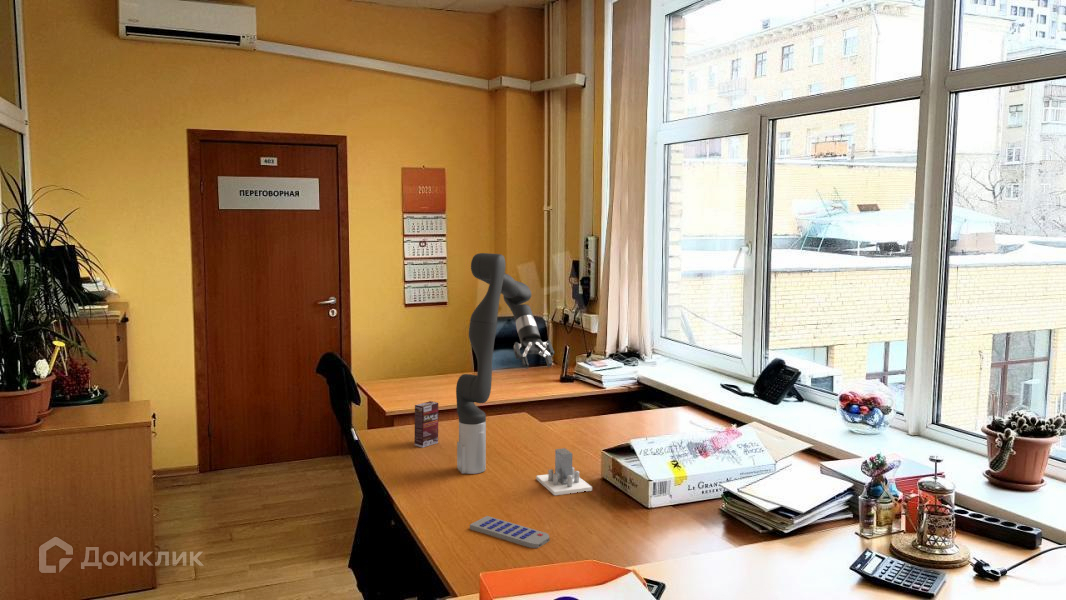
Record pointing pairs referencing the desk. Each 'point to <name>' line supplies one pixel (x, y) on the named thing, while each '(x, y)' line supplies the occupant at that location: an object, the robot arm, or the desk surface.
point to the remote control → (510, 532)
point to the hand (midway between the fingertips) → (538, 366)
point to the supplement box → (426, 424)
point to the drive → (563, 464)
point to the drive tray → (572, 485)
